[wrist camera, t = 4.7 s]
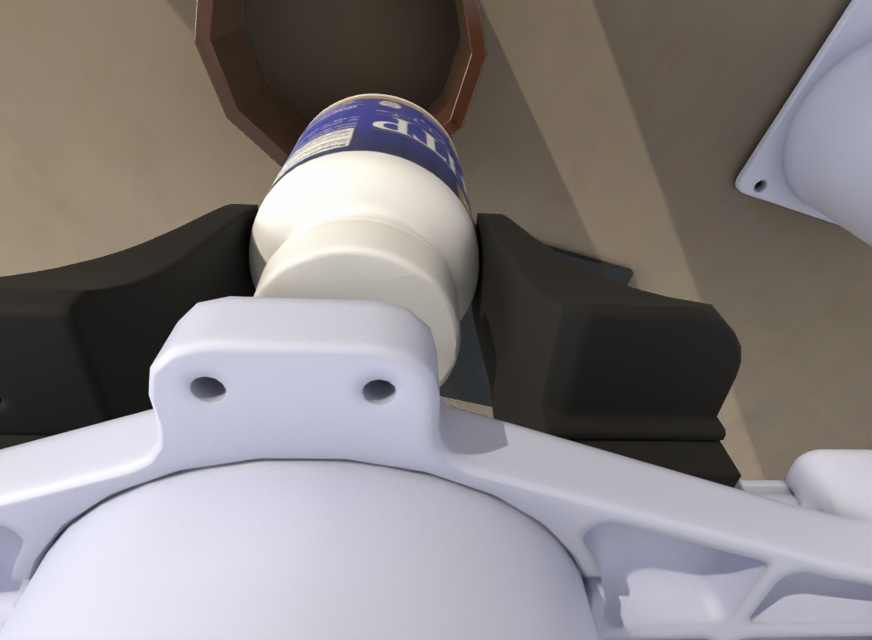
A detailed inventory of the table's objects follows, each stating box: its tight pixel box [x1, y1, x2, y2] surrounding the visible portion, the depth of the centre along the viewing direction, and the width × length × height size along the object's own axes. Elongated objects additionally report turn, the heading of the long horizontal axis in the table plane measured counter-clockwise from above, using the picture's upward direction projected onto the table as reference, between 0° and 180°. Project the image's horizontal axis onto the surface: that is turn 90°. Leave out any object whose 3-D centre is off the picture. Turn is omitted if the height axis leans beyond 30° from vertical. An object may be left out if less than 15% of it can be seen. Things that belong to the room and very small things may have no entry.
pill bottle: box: [249, 94, 480, 388], centre depth 14 cm, size 5×5×9 cm
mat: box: [439, 225, 633, 407], centre depth 27 cm, size 16×10×1 cm, turn 72°
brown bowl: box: [194, 0, 487, 167], centre depth 18 cm, size 9×9×4 cm
